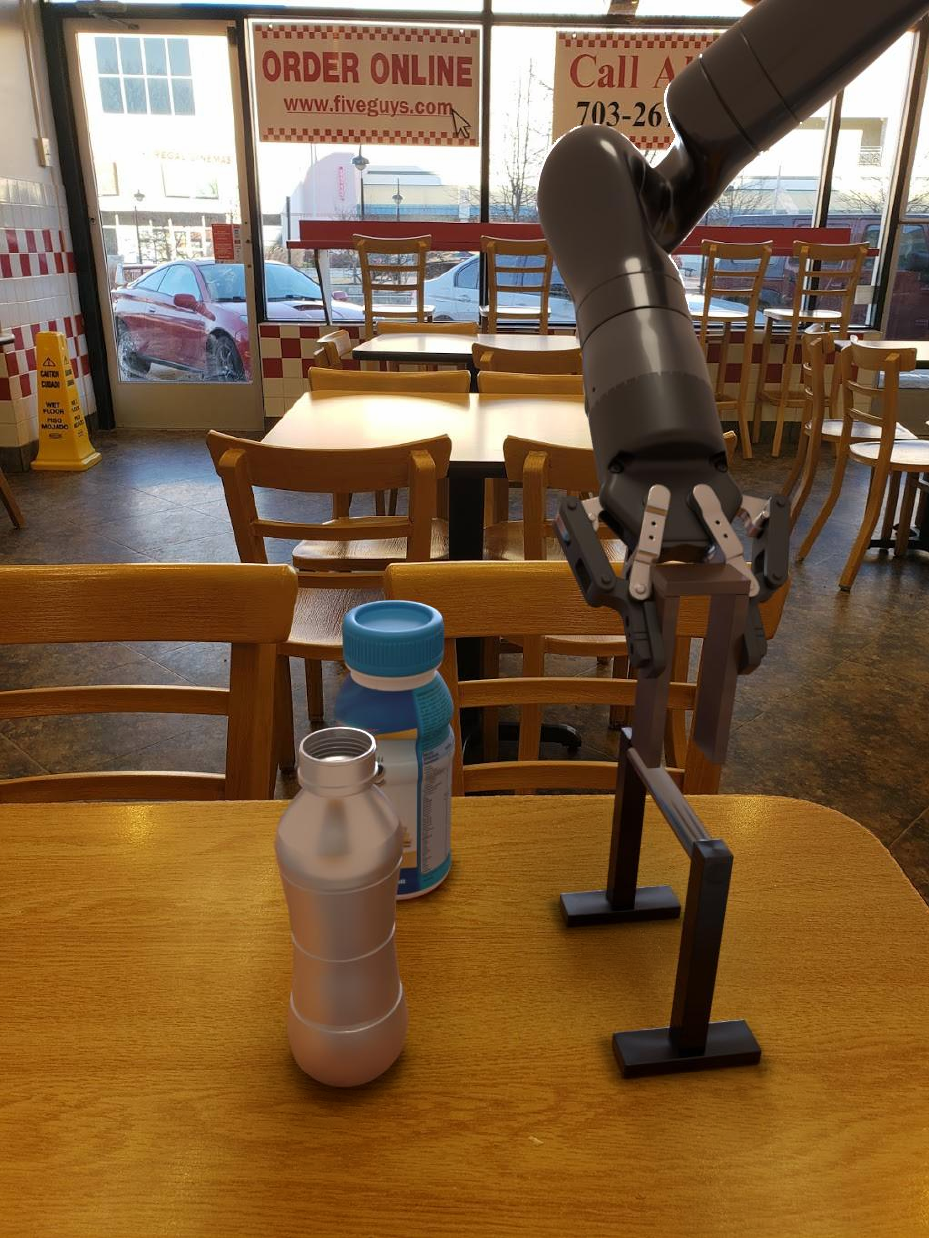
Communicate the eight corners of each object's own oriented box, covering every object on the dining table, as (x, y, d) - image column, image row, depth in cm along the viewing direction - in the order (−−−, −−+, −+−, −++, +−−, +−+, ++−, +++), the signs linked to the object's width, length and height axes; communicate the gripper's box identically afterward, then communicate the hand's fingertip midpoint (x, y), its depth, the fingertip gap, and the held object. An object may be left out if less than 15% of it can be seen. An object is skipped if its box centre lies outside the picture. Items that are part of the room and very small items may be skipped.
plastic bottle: (424, 1083, 51) (425, 763, 44) (302, 1121, 49) (282, 789, 42) (389, 1001, 57) (385, 705, 50) (277, 1031, 55) (256, 725, 47)
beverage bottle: (472, 887, 67) (478, 628, 60) (360, 918, 64) (353, 648, 57) (425, 825, 74) (426, 588, 67) (322, 851, 71) (312, 603, 64)
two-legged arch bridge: (705, 738, 56) (728, 562, 52) (725, 764, 53) (752, 580, 49) (630, 742, 55) (648, 564, 51) (646, 769, 52) (667, 582, 48)
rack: (668, 896, 67) (689, 720, 62) (760, 1064, 53) (796, 856, 48) (558, 905, 66) (571, 727, 61) (623, 1079, 52) (646, 867, 47)
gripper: (546, 365, 52) (589, 651, 45) (788, 367, 54) (863, 640, 48) (522, 442, 59) (556, 701, 52) (738, 441, 61) (797, 690, 54)
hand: (702, 670), depth 50 cm, fingers closed on two-legged arch bridge, 4 cm apart
